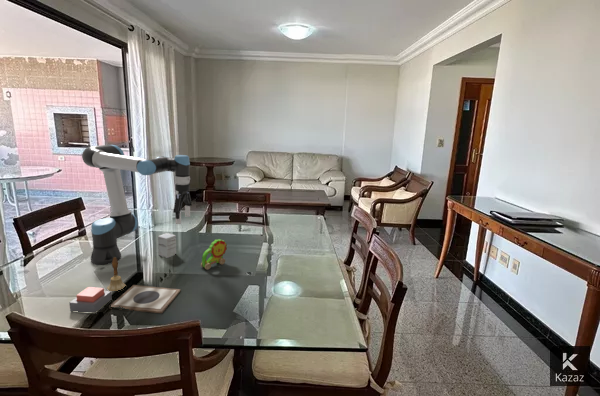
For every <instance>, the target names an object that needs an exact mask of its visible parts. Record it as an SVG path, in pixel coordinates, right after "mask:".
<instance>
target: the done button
mask: <svg viewBox="0 0 600 396" xmlns="http://www.w3.org/2000/svg"><path fill="white" fill-rule="evenodd" d="M104 291H105V288H104V287H97V286H96V287H94V286H87V287H86V288H85V289H83V290H82V291H80V292H79V293H77V294H76V297H77V301H82V302H93V303H94V302H95V301H96V300H97V299H99V298H100V297H101V296H102V295H104Z"/></svg>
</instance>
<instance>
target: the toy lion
mask: <svg viewBox="0 0 600 396" xmlns="http://www.w3.org/2000/svg"><path fill="white" fill-rule="evenodd" d="M227 245H228V244H227V243H226V241H225V240H224V239H220V238H218V239H214V241H211V243H210V245H209V247H208V248H207V249H206V250H205V251H203V254H202V256H201V263H200V267H202V268H204V269H205V270H210V269H211V267H212V265H213V264H220V265H225V262H226V258H224V255H225V254H226V251H227V248H228V247H227ZM209 254H210V256H209V258H207V257H208V255H209Z"/></svg>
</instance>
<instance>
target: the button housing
mask: <svg viewBox="0 0 600 396" xmlns="http://www.w3.org/2000/svg"><path fill="white" fill-rule="evenodd" d="M112 298H113V297H112V292H111V291H107V290H104V295H102V296H101V297H100V298H99V299H97V300H96V301H95V302H94V303H93V302H82V301H77V296H76V297H74V298H73V299H72V300H70V301H69V311H78V312H96V311H97V310H99V309H100V308H101V307H102V306H103V305H104V304H106V303H107V302H109V301H110V300H112V301H113V299H112ZM110 302H111V301H110ZM110 302H109V303H110Z"/></svg>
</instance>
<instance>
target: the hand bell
mask: <svg viewBox="0 0 600 396" xmlns="http://www.w3.org/2000/svg"><path fill="white" fill-rule="evenodd" d="M111 266H112V268H113V276H112V277H110V283H109V284H108V285H107V287H106V290H107V289H108V290H109V291H118V290H121V289H123V288H124V287H125V286H126V287H127V285H126V284H125V283H124V282H123V280H122V277H121V275H118V274H119V273H118V269H119V261H118V260H117V258H116V257H114V258H113V261H112V264H111ZM123 290H124V289H123ZM121 291H122V290H121ZM118 292H119V291H118Z"/></svg>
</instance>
